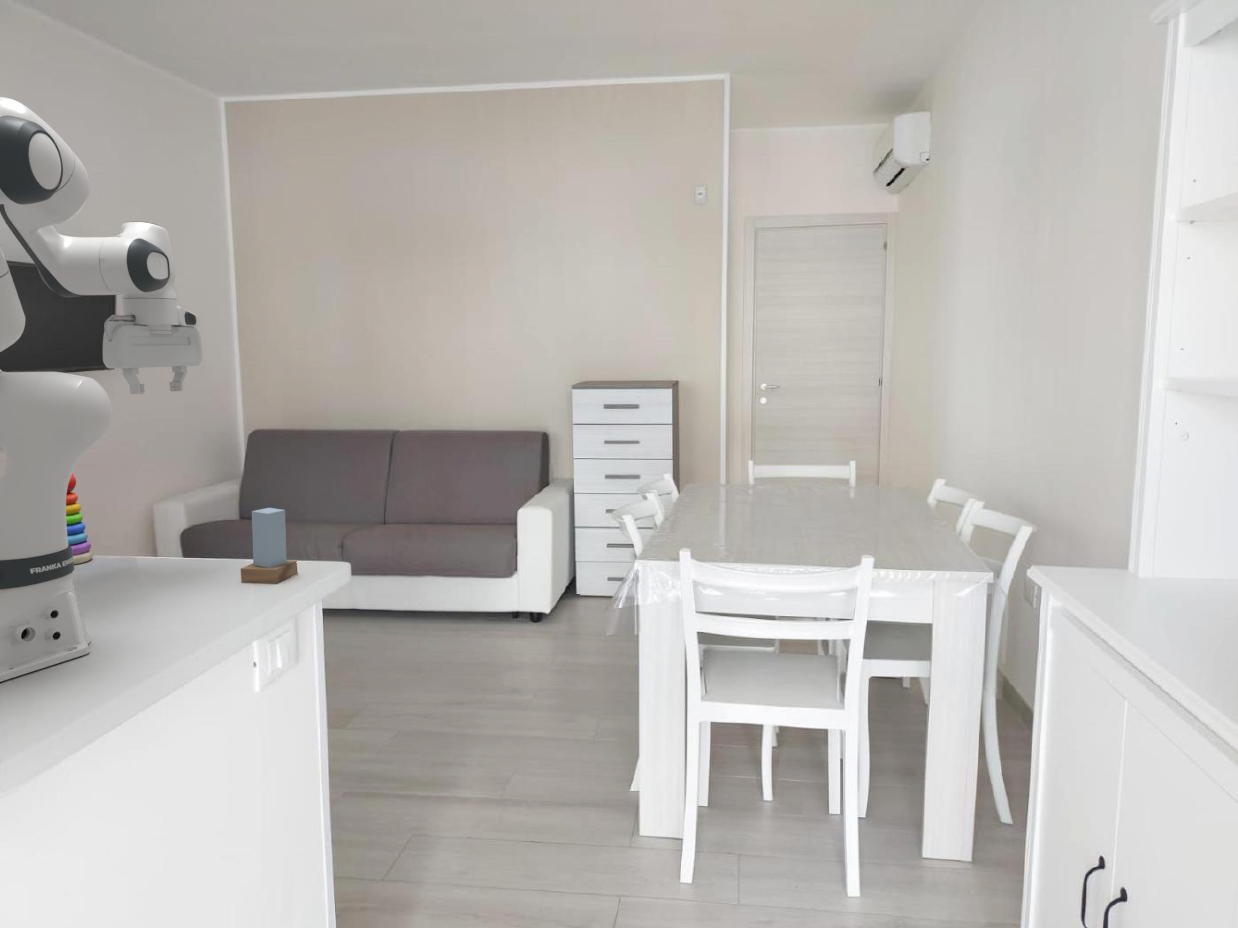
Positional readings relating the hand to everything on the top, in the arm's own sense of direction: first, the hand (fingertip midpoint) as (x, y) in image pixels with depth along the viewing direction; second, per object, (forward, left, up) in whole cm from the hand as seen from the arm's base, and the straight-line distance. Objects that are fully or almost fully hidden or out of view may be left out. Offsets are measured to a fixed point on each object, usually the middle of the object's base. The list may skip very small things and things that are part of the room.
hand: (157, 392), depth 162 cm
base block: (+2, -20, -34) cm, 40 cm away
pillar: (+2, -20, -31) cm, 37 cm away
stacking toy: (+4, +28, -34) cm, 44 cm away
